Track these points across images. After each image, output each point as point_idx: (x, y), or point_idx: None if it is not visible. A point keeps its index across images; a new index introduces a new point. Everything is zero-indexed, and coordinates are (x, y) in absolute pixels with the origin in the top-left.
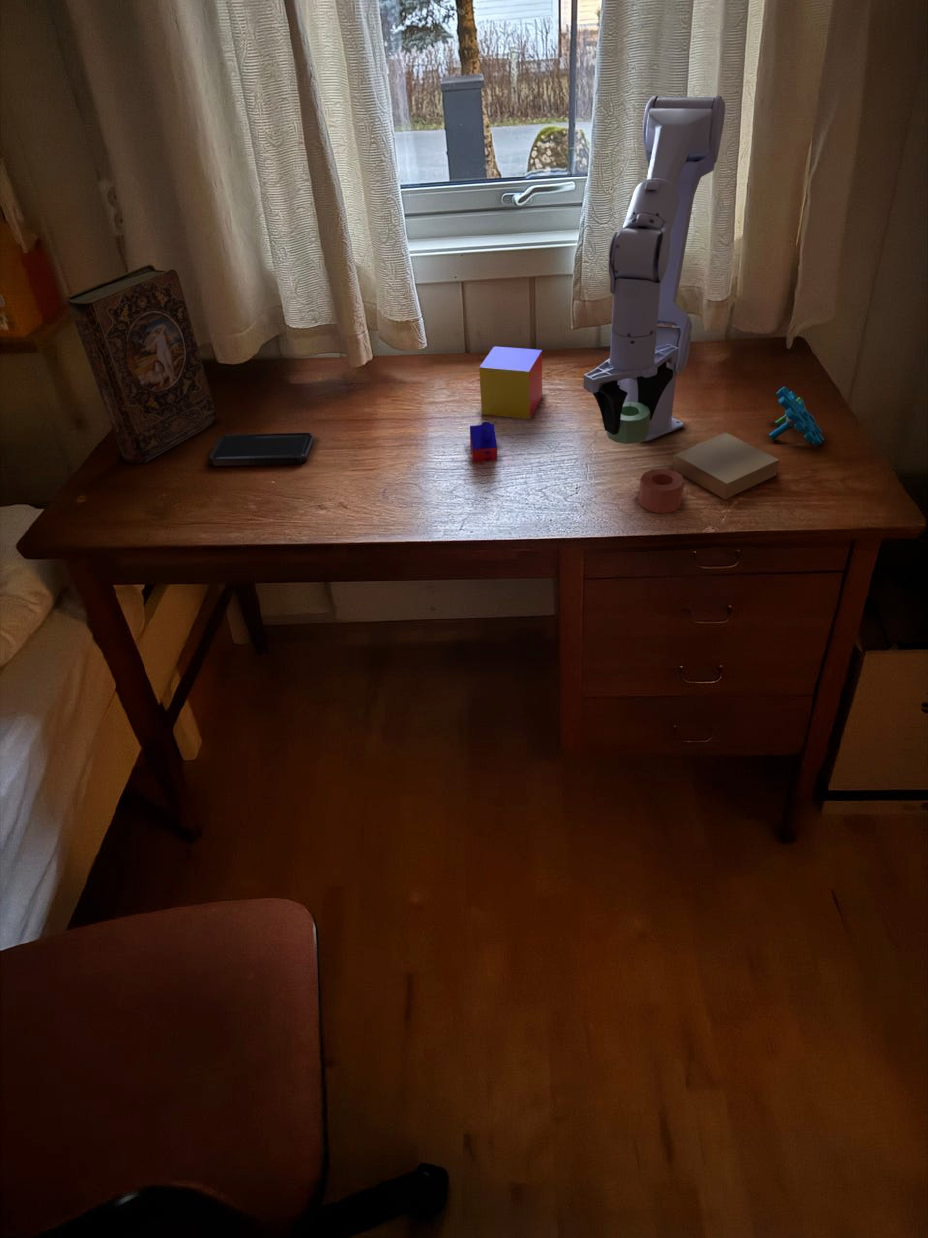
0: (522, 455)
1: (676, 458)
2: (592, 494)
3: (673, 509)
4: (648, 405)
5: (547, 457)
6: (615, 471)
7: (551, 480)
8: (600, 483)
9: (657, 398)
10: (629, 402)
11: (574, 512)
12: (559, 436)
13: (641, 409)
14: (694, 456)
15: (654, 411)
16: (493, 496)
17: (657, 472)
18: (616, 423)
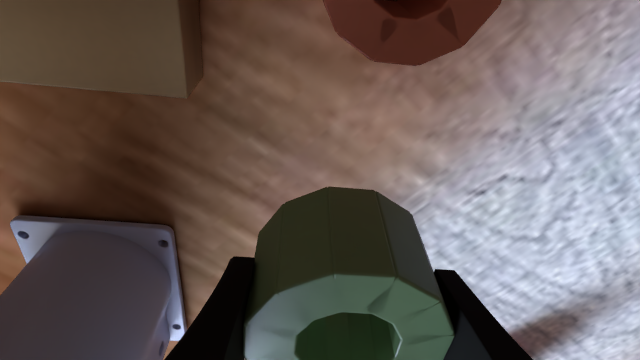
0: None
1: (189, 81)
2: (485, 146)
3: None
4: (239, 330)
5: None
6: (342, 183)
7: (483, 250)
8: (421, 169)
9: (197, 350)
10: None
11: (600, 117)
12: None
13: (292, 326)
14: (127, 31)
15: (220, 284)
16: (614, 280)
17: (381, 26)
18: (487, 314)
